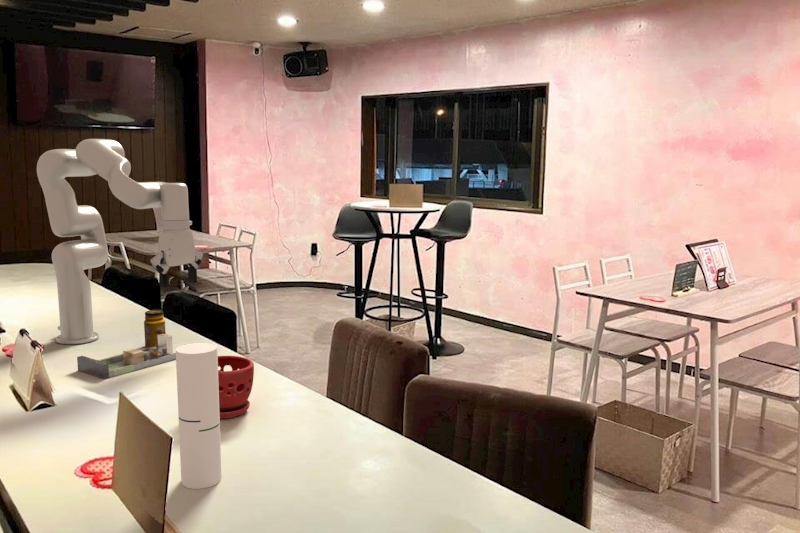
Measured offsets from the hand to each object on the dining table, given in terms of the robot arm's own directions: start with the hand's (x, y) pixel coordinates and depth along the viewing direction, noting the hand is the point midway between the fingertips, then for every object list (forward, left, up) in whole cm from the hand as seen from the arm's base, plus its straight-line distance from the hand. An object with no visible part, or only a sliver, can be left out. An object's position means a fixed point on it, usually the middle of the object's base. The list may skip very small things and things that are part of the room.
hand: (179, 284), depth 206 cm
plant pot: (+46, -24, -22) cm, 56 cm away
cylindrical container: (+69, -50, -22) cm, 88 cm away
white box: (0, -9, -20) cm, 22 cm away
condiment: (-12, -2, -22) cm, 25 cm away
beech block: (-1, -16, -20) cm, 25 cm away
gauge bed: (-1, -17, -21) cm, 27 cm away
